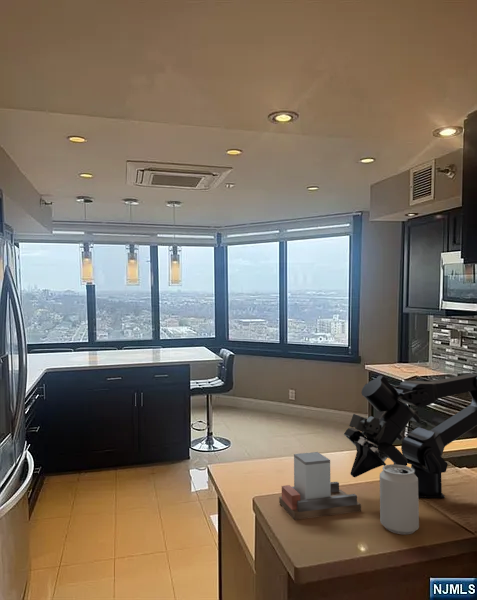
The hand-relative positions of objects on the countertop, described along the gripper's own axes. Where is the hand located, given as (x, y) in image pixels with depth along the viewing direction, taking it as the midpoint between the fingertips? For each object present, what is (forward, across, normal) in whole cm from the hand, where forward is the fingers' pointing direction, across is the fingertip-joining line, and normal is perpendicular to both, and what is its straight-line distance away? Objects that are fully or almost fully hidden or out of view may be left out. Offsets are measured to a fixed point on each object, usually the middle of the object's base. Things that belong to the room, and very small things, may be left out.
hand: (352, 475), depth 103 cm
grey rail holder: (+10, 0, -2) cm, 11 cm away
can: (+3, +14, +6) cm, 15 cm away
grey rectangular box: (+10, 0, -4) cm, 11 cm away
